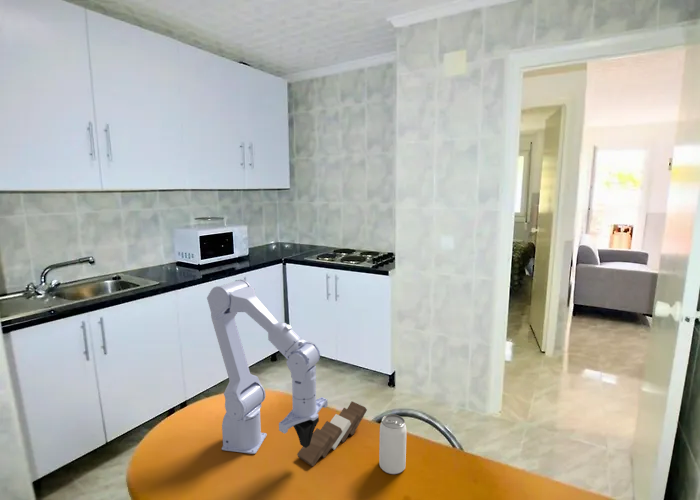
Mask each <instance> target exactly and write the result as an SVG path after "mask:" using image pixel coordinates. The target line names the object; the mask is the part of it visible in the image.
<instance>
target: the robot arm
mask: <svg viewBox="0 0 700 500" xmlns="http://www.w3.org/2000/svg"><path fill="white" fill-rule="evenodd" d="M206 299H207V303H208V308H209V310H210V318H211V321H212V325H213V329H214V332H215V335H216V339H217V342H218V345H219V349H220V353H221V356H222V359H223V362H224V366H225V369H226V370H225V371H226V373H227V376H228V380H229V382H228V384H227V386H226V388H225V390H224V392H223V396H224V400H225V401H224V402H225V403H224V408H225V414H224V416H223V419H222V424H221V431H222V447H221V450H222V451H227V452H237V453H243V454H252V455H255V454H257V452H258V451H259V449H260V447H261V445H262V444H263V442H264V440H265V439H266V437H267V435H268V434H267V433H266V432H262V424H261V408H262V404H263V402H264V401H265V400H266V397H267V396H266V390H265V388H264V386H263V385H262V383H261V381H260V379H259V376H257V375H256V374H255V375H254V374H252V373H251V372H250V368H249V365H248V361H247V357H246V354H245V350H244V348H243V344H242V343H243V342H242V340H241V336H240V334H239V330H238V329H239V328H238V326H237V322H236V319H235V318H236V316H237V314H238V313H246V314H247V315H248V316H249V317H250V318H251V319H252V320H253V321H254V322H255V323H257V324H258V325H259V326H260V327H261V328H263V330H265V331H266V332H267V337H268V338H267V340H268V341H269V342H270V343H271V344H272V345H273V347H275V348H276V349H277V350H278V352H280V354H282V356H284V357H285V359H287V360H286V362H285V363H286V366H287V368H288V370H289V371H290V377H291V388H292V389H291V390H292V395H291V396H292V399H291V400H292V409H291V411H290V412H288V414H287V415H286V416H285V417H284V419H282V420H281V421H280V422H278V431H279V432H281V433H283V434H287V433H288V432H289V431H288V430H289V429H291V428H292V427H293V428H294V430H295V432H296V434H297V438H298V440H299V444H300V446H302V447H305V448H307V447H308V446H309V445H310V442H311V438H312V435H313V433H314V431H315V430H316V427H317V425H318V423H319V420H320V418H319V412H320V411H321V409H323V408H324V409H325V408H327V407H328V406H329V405H328V402H329V401H328V399H327V398H325V397H324V396H322V397H321V396H320V397H318V398H317V366H316V364H317V363H319V361H320V358H321V353H320V350H319V348H318V347H317V345H316V343H314V342H311V341H307V340H306V339H303V338H302V337H300V335H298V333H296V332H295V330H293V327H292V326H291V325H290V324H287V323H286V322H281V321H278V320H277V318H275V316H274V315H273V314H272V313H271V311H269V310H268V309H267V307H266V306H265V304H264V303H263V302H261V300H260V299H259V298H258V296H257V295H256V291H255V288H254V287H252V285H251V284H250V283H249V282H248V281H247V280H245V279H242V278H241V279H238V280H237V279H236V281H232V282H229V283H226V284H222V285H219V286H218V285H217V286H214V287H213V288H211V290H210V291H209V293H208V295H207V297H206Z"/></svg>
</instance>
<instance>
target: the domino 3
mask: <svg viewBox="0 0 700 500" xmlns="http://www.w3.org/2000/svg"><path fill="white" fill-rule="evenodd" d="M329 422H330V423H332V424H334V425H336V426H338V427H340V428H341V430H342V433H341V435H340V436H339V438H338V439H337V441H336V442H335V443H334V445H333V446H332V448H331V450H332V449H333V450H334V451H335V450H336V449H337V447H338V445H339V444H340V442H342V441H341V439H342V438H343V436H344V435H345V433H346V431H347V430H348V428H349V427H350V425H351V422H350V421H349V420H347V419H345V418H343V417H341V416H339V414H337V413H335V414H334V416H333V417H332V418H331V420H330V421H329Z"/></svg>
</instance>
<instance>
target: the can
mask: <svg viewBox="0 0 700 500" xmlns="http://www.w3.org/2000/svg"><path fill="white" fill-rule="evenodd" d="M378 449H379V453H378V454H379V457H378V458H379V463H378V464H379V467H380V469H382V471H383V472H385V473H386V474H389V475H398V474H401V473H402V472H403V471H404V470H406V463H407V462H406V460H407V459H406V458H407V457H406V456H407V455H406V454H407V426H406V421H405V419H404V417H402V416H401V415H397V414H395V413H393V414H389V413H388V414H386V415H384V416H383V417H382V418H381V422H380V424H379V448H378Z"/></svg>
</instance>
